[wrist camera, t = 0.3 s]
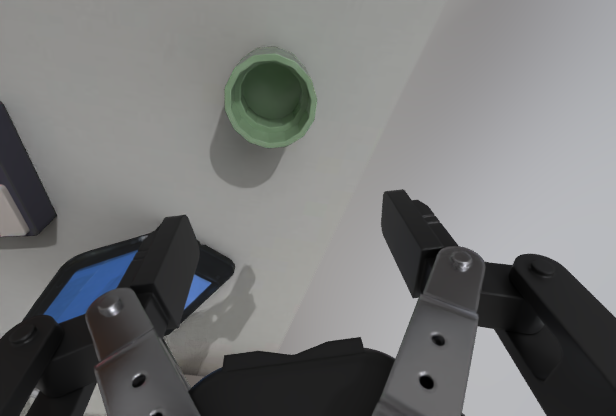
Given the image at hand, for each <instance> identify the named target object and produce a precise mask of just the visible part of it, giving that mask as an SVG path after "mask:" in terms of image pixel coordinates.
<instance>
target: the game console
mask: <svg viewBox="0 0 616 416" xmlns="http://www.w3.org/2000/svg"><path fill="white" fill-rule="evenodd" d="M160 226H161V224H160ZM160 226H159V227H158V228H157V229H156V230H155V231H158V230H159V228H160ZM150 234H151V233H149V234H146V235H142V236H139V237H136V238H133V239H129V240H126V241H122V242H119V243H115V244H112V245H108V246H105V247H101V248H98V249H94V250H91V251H88V252H84V253H82V254H79V255H77V256H75V257H73V258H72V259H70V260H69V261H67V262H66V263H65V264H64V265H63V266H62V267H61V268H60V269H59V270H58V272H57V273H56V275H55V276H54V277H53V279H52V280H51V281H50V283H49V284H48V286H47V287H46V288H45V290H44V291H43V293H42V294H41V295H40V297H39V298H38V299H37V301H36V302H35V304H34V305H33V307H32V308H31V309H30V311H29V312H28V314H27V315H26V316H25V318H24V319H23V321H25V320H27V319H29V318H32V317H35V316H39V315H49V316H51V317H53V318H54V319H55V320H56V322H57V323H61V322H64V321H67V320H69V319H72V318H75V317H78V316H80V315H83V314H86V311H87V309H88V307H89V306H90V305H91V304H92V303H93V302H94V301H95V300H96V299H97V298H98V297H100V296H101V295H103V294H104V293H106V292H108V291H111V290H113V289H116V288H117V286H118V285H119V283H120V281H121V279H122V277H123V276H124V274H125V272H126V270H127V268H128V267H129V265H130V263H131V261H132V260H133V258H134V256H135V254H136V252H138V249H139V247H140V245H141V243H142V242H143V240H144V239H145V238H146V237H147V236H149V235H150ZM197 242H198V245H199V251H200V255H199V261H198V264H197V267H196V271H195V274H194V277H193V281H192V284H191V287H190V291H189V294H188V298H187V301H186V304H185V308H184V311H183V314H182V318H181V321H180V324H181V323H182V322H183V321H184V320H185V319H186V318H187V317H188V316H189V315H190V314H192V313H193V312H194V311H195V310H196V309H197V308H198V307H199V306H200V305H201V304H202V303H203V302H204V301H205V300H207V299H208V298H209V297H210V296H211V295H212V294H213V293H214V292H215V291H216V290H217V289H218V288H219V287H221V286H222V285H223V284H224V283H225V282H226V281H227V280H228V279H229V278H230V277H231V276H232V275H233V273H234V270H235V264H234V263H233V261H232V260H231V259H229V258H227V257H226V256H224V255H222V254H220V253H218V252H217V251H215V250H213V249H211V248H210V247H208V246H206V245H203V246H202V245H201V244H200V243H199V241H198V240H197ZM23 321H22V322H23ZM180 324H179V325H180ZM173 330H174V329H168V330H166V331H165V334H164V336H165V335H168V334H170V333H171V332H172V331H173Z"/></svg>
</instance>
